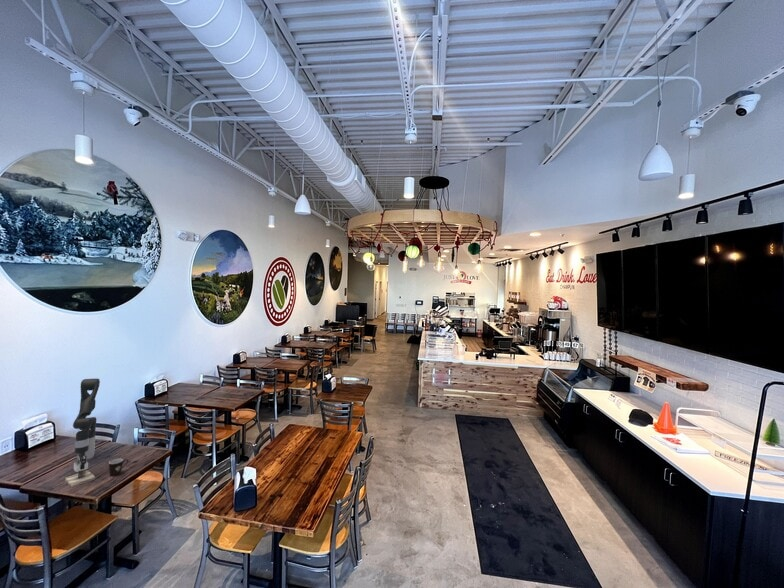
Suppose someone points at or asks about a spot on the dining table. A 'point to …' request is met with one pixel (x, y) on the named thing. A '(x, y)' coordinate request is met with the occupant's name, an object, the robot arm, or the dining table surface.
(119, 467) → the coffee mug
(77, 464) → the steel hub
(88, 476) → the post plate
